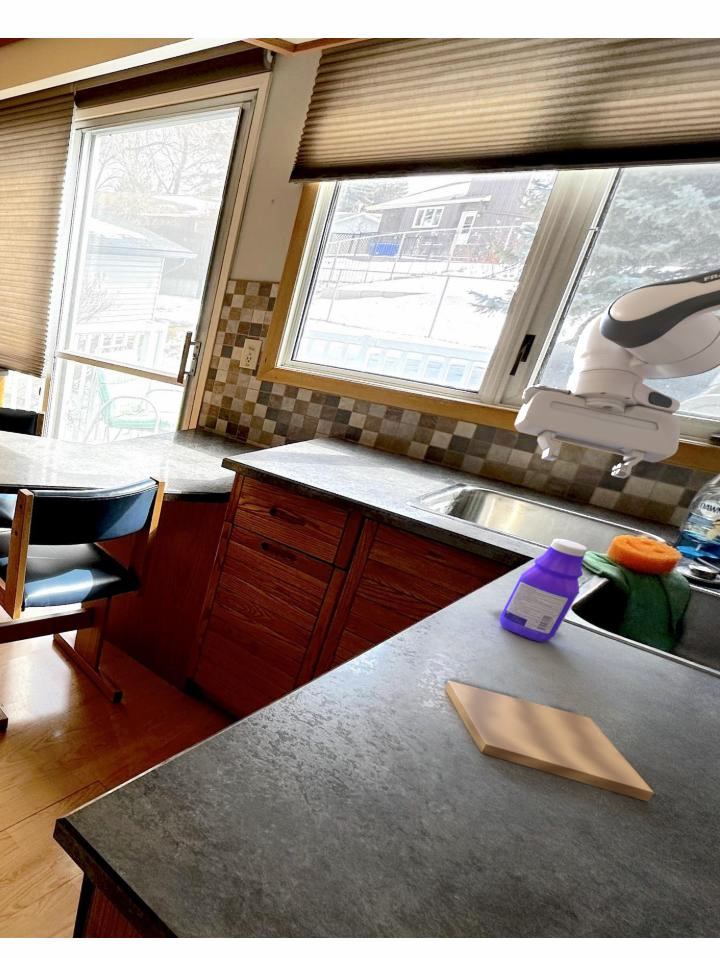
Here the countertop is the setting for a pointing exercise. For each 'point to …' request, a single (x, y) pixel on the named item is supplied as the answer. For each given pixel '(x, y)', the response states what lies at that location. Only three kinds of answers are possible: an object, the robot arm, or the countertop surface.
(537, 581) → the bottle
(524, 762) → the board
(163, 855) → the countertop surface
